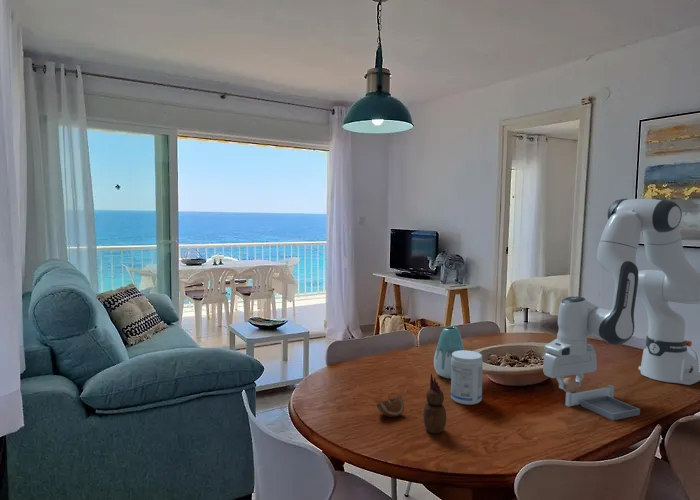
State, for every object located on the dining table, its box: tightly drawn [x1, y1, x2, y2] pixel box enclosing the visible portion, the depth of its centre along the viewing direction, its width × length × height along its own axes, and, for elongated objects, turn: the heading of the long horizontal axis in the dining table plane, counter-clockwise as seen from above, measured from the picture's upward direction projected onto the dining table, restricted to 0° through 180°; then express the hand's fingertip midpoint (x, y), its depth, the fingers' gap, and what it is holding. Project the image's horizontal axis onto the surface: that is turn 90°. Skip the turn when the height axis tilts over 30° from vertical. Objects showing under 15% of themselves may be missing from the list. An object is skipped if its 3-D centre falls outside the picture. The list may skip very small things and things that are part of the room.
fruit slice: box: [376, 395, 405, 418], centre depth 134 cm, size 8×7×5 cm
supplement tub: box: [450, 349, 483, 406], centre depth 146 cm, size 10×10×15 cm
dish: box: [580, 396, 641, 421], centre depth 139 cm, size 11×11×2 cm
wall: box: [565, 384, 615, 407], centre depth 145 cm, size 19×1×4 cm, turn 112°
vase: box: [433, 326, 465, 380], centre depth 168 cm, size 12×12×18 cm
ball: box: [562, 377, 579, 393], centre depth 153 cm, size 5×5×5 cm
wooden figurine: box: [422, 373, 447, 434], centre depth 124 cm, size 7×6×15 cm
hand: (569, 387), depth 153 cm, fingers closed on ball, 5 cm apart
